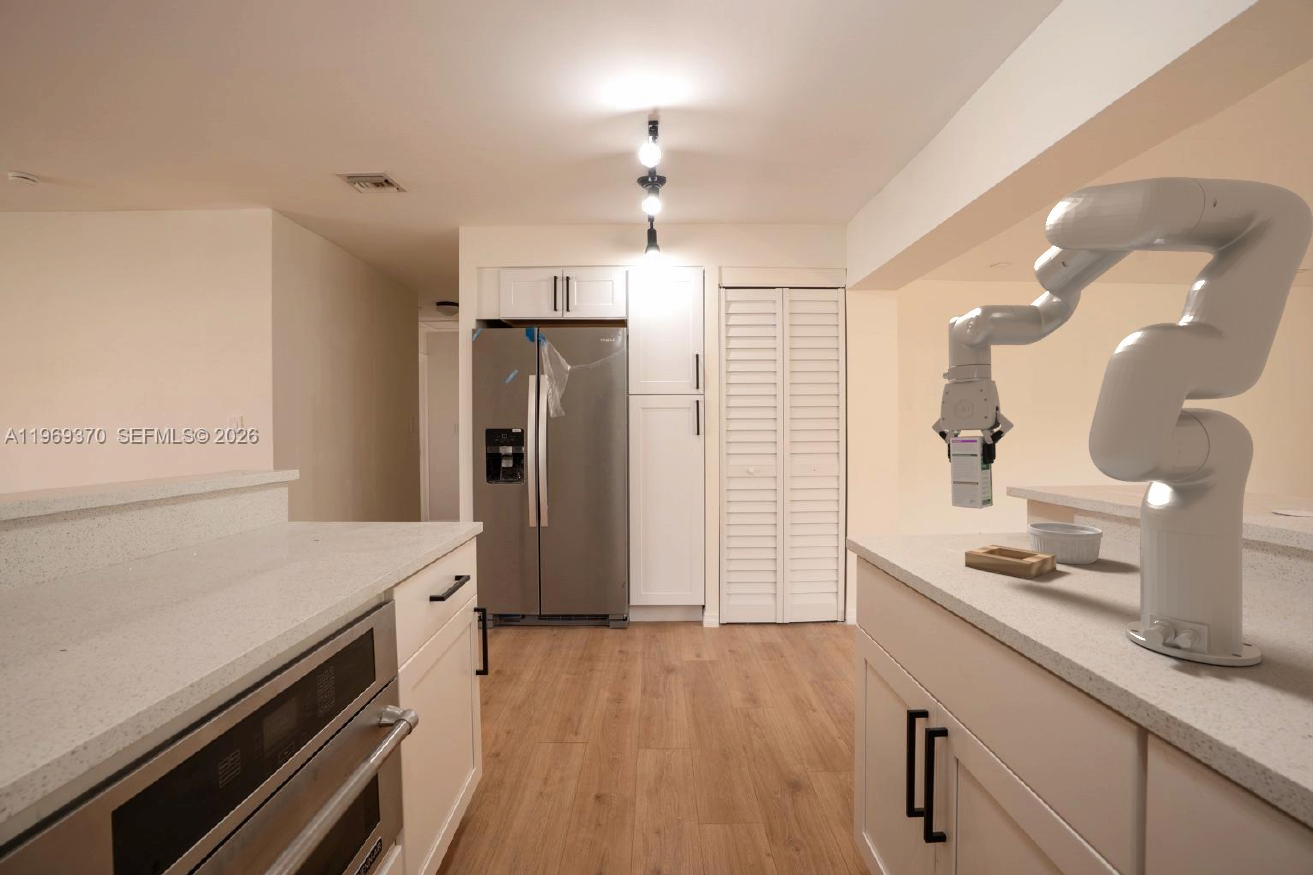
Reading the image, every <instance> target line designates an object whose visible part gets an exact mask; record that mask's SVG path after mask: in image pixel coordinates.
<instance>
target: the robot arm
mask: <svg viewBox="0 0 1313 875" xmlns="http://www.w3.org/2000/svg"><path fill="white" fill-rule="evenodd" d="M1044 232H1045V233H1044V235H1045V237H1046V239H1047V242H1048V243H1049V244H1050V245H1051V246H1050V247H1049V248H1048V249H1047V250H1046V251H1045V252H1043V253H1042V255H1040V256H1039V257H1038V258H1037V260H1036V261H1035V263H1034V267H1033V272H1034V275H1035V278H1036V280H1037V282H1038V283H1039V285H1040V286H1041V287H1042V288H1043V289H1044V290H1045V291H1046V292H1045V293H1043V294H1042V295H1041V296H1039V297H1038V298H1037V299H1036V300H1034V301H1033V302H1032V303H1030V304H1028V305H1018V304H1015V305H1014V304H1013V305H1012V304H1001V305H1000V304H987V305H981V306H978V307H976V308H974V309H971V311H968V313H966V314H962V315H957V316H955V317H952V318H951V319H950V321H949V323H948V326H947V327H948V328H947V329H948V330H947V332H948V336H947V337H948V369H947V371H946V372H943V373H942V378H943V379H944V380H946V379H947V381H948V382H949V383H945V384H944V386H943V390H942V397H941V404H940V417H939V418H938V419H937V420H936V421H935V423H934V424H933V425H932V426H931V429H932V430H933V431H934V432H935V433H936V434H938V435H939V437H940V438H941V439H942V440H943V441H944V443H945V444H947V458H948V461H949V462H948V463H949V464H951V451H950V438H952V437H960V434H961V432H962V431H980V432H981V435H982V436H983V437H984V439H985V444H983V463H984V464H991V465H993V464H994V463H995V460H996V456H997V454H996V453H997V451H996V449H997V448H996V445H997V444H998V443H999V441H1000V440H1001V439H1002V438H1003V437H1005V435H1006V434H1007V433H1008V432H1009V431H1011V430H1012V429H1013V428H1014V426H1015V424H1014V423H1012V421H1010V420H1009V419H1008V418H1007V417H1006V416H1005V415H1004V414H1003V413H1001V405H1000V404H1001V403H1000V402H1001V401H1000V397H999V396H1000V395H999V391H998V387H997V384H996V380H992V346H1027V345H1031V344H1035V343H1037V342H1039V341H1041V340H1043V339H1045V338H1046V337H1048V336H1049V335H1050V334H1052V333H1054V332H1055V331H1056V330H1058V329H1059V328H1060V327H1062V326H1063V325H1064V324H1066V323H1067V322H1068V321H1069V320H1070V318H1071V317H1072V316H1073V315H1074V312H1075V311H1076V310H1077V307H1078V305H1079V302H1080V300H1081V296H1082V295H1081V294H1082V291H1084V289H1086V287H1088V286H1089V285H1091V284H1092V283H1093V282H1095V281H1096V280H1098V279H1099V278H1100V277H1101V276H1103V275H1104V274H1105V273H1107V271H1109V270H1111V269H1112V268H1113V267H1114V266H1116V265H1117V264H1119V263H1120V262H1121V261H1123V260H1124V259H1125V258H1126V257H1128V256H1129V255H1131V254H1132V253H1133V252H1134V251H1142V252H1143V251H1144V252H1145V251H1146V252H1147V251H1149V252H1175V253H1176V252H1177V253H1178V252H1180V253H1184V252H1188V253H1191V252H1192V253H1208V254H1210V255H1211V256H1213V257H1212V259H1211V260H1209V262H1207V264H1205V266H1204V267H1203V268H1201V270H1200V272H1199V273H1198V274H1197V275H1196V277H1195V278H1194V280H1193V281H1192V283H1191V285H1190V287H1189V289H1188V292H1187V294H1186V297H1185V302H1184V306H1183V309H1182V312H1181V315H1180V317H1179V320H1178V322H1163V323H1162V322H1161V323H1154V324H1149V325H1147V326H1143V327H1140V328H1139V329H1137V330H1135V331H1133V332H1131V333H1129V334H1128V335H1127V336H1126V337H1125V338H1123V340H1121V342H1120V343H1119V344H1118V345H1117V346H1116V347H1115V349H1114V350H1113V352H1112V354H1111V356H1110V357H1109V360H1108V362H1107V365H1106V368H1105V371H1104V374H1103V379H1102V383H1101V385H1100V386H1101V387H1100V391H1099V395H1098V398H1097V402H1096V405H1095V409H1094V414H1093V417H1092V422H1091V426H1090V429H1089V435H1088V451H1089V455H1090V459H1091V460H1092V463H1093V464H1094V466H1095V467H1096V468H1097V470H1098V471H1099V472H1101V473H1102V474H1103V475H1104V476H1107V477H1109V478H1111V479H1114V480H1116V481H1121V482H1128V483H1148V485H1147V488H1146V489H1145V492H1144V495H1143V497H1142V500H1141V505H1140V511H1139V512H1140V513H1139V580H1140V581H1139V582H1140V584H1139V586H1140V587H1139V590H1140V591H1139V594H1140V596H1139V597H1140V598H1139V602H1140V604H1139V605H1140V606H1139V607H1140V609H1139V610H1140V611H1139V612H1140V614H1139V616H1140V617H1139V618H1140V620H1136V621H1131V622H1128V623H1127V624H1126V625H1125V636H1126V637H1128V639H1130V640H1131V641H1133V642H1134V643H1136V644H1138V645H1140V646H1143V647H1145V648H1146V649H1148V650H1152V651H1154V652H1157V653H1161V654H1165V655H1168V656H1171V657H1175V658H1179V659H1182V660H1183V659H1184V660H1186V661H1187V660H1189V661H1193V662H1197V663H1203V664H1211V665H1218V666H1219V665H1220V666H1229V667H1232V666H1233V667H1246V666H1247V667H1248V666H1253V665H1256V664H1259V663H1260V662H1262V651H1261V649H1260V648H1259V647H1257V646H1256V645H1255V644H1253V643H1251V642H1249V641H1247V640H1245V639H1243V637H1244V636H1243V627H1244V626H1243V533H1244V532H1243V531H1244V530H1243V529H1244V528H1243V526H1244V525H1243V524H1244V523H1243V521H1244V520H1243V518H1244V499H1245V492H1246V485H1247V481H1248V477H1249V474H1250V471H1251V468H1252V463H1253V458H1254V443H1253V442H1254V440H1253V437H1252V435H1251V433H1250V431H1249V429H1248V428H1247V427H1246V425H1245V424H1244V423H1243V422H1241V421H1240V420H1239V419H1237V417H1234V416H1233V415H1230V414H1228V413H1225V412H1223V411H1220V410H1216V409H1212V408H1203V407H1201V408H1200V407H1183V406H1184V403H1185V401H1187V400H1188V401H1190V400H1192V401H1194V400H1195V401H1197V400H1218V399H1226V398H1227V399H1229V398H1233V397H1236V396H1239V395H1241V394H1244V393H1246V392H1248V391H1249V390H1250V389H1252V388H1253V387H1254V386H1255V385H1256V384H1257V383H1258V381H1259V379H1260V378H1261V377H1262V374H1263V372H1264V370H1265V367H1266V366H1267V365H1266V364H1267V362H1268V359H1269V356H1270V353H1271V350H1272V347H1273V343H1274V342H1275V338H1276V335H1277V332H1278V329H1279V326H1280V323H1281V319H1282V318H1283V314H1284V311H1285V308H1286V303H1287V300H1288V297H1289V295H1290V291H1291V288H1292V286H1293V283H1294V280H1295V279H1296V276H1297V274H1298V272H1299V270H1300V268H1301V265H1302V263H1303V261H1304V258H1305V257H1306V254H1307V251H1308V249H1309V246H1310V243H1311V240H1312V237H1313V213H1312V211H1311V208H1310V206H1309V204H1308V203H1307V202H1306V200H1304V198H1303V197H1301V196H1300V195H1299V194H1297V193H1296V192H1294V191H1292V190H1290V189H1288V188H1285V187H1282V186H1279V185H1275V184H1272V183H1267V182H1263V181H1262V182H1261V181H1256V180H1255V181H1254V180H1244V179H1233V178H1232V179H1229V178H1205V177H1203V178H1201V177H1189V176H1188V177H1185V176H1183V177H1180V176H1164V177H1163V176H1161V177H1155V178H1154V177H1152V178H1144V179H1139V180H1138V179H1137V180H1131V181H1130V180H1129V181H1122V182H1115V183H1114V182H1113V183H1107V184H1098V185H1092V186H1086V187H1082V188H1078V189H1076V190H1074V191H1072V192H1070V193H1068V194H1067V195H1066V196H1064V197H1063V198H1062V199H1061V200H1060V201H1059V202H1058V203H1056V205H1055V206H1054V207H1053V208H1052V210H1051V211H1050V213H1049V214H1048V216H1047V219H1046V223H1045V228H1044ZM996 429H997V430H996ZM995 430H996V431H995Z"/></svg>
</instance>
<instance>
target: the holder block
mask: <svg viewBox="0 0 1313 875" xmlns="http://www.w3.org/2000/svg"><path fill="white" fill-rule="evenodd" d="M967 566H969V567H968V568H973V569H977V570H983V571H987V572H992V573H996V572H998V574H1002V575H1007V576H1012V577H1018V578H1022V579H1027V580H1031V579H1034V578H1037V577H1039V576H1042V575H1045V574H1048V573H1051V572H1053V571H1056V570H1057V562H1056V555H1054V554H1048V553H1042V552H1035V551H1032V550H1029V549H1023V548H1022V549H1021V548H1017V547H1010V546H1002V545H997V544H991V545H987V546H984V547H979V548H976V549H972V550H967V551H964V567H967Z"/></svg>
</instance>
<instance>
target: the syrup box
mask: <svg viewBox="0 0 1313 875" xmlns="http://www.w3.org/2000/svg"><path fill="white" fill-rule="evenodd" d="M983 444H985V439H984V437H983V435H970V436H969V435H967V436H966V435H965V436H964V435H963V436H959V437H952V438H950V451H951V463H950V477H951V478H950V479H951V480H950V483H951V505H952V506H953V507H959V508H967V509H982V510H983V509H984V508H988V507H992V506H994V503H993V475H992V474H993V471H992V468H993V467H992V465H993V464H984V463H983Z"/></svg>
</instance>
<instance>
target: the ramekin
mask: <svg viewBox="0 0 1313 875" xmlns="http://www.w3.org/2000/svg"><path fill="white" fill-rule="evenodd" d="M1102 530H1103V529H1100V528H1098V527H1097V528H1096V527H1093V526H1089V525H1081V524H1074V523H1065V522H1032V523H1028V524H1027V531H1028V537H1029V542H1030V549H1031V550H1030V551H1035V552H1042V553H1048V554H1054V555H1056V563H1061V564H1067V565H1069V564H1070V565H1089V564H1090V565H1091V564H1094V563H1095V562H1096V561H1097V560H1098V559H1099V555H1100V549H1101V543H1102V538H1103V537H1104V536H1103V531H1102Z"/></svg>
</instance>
